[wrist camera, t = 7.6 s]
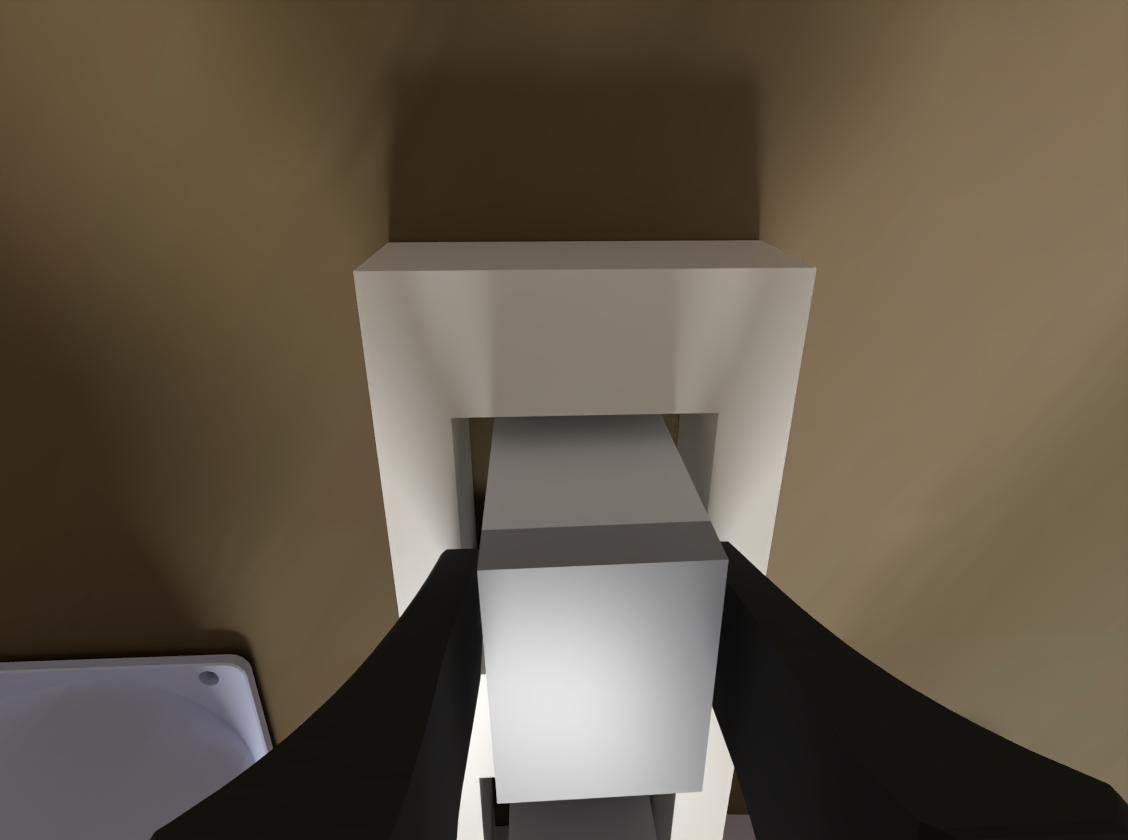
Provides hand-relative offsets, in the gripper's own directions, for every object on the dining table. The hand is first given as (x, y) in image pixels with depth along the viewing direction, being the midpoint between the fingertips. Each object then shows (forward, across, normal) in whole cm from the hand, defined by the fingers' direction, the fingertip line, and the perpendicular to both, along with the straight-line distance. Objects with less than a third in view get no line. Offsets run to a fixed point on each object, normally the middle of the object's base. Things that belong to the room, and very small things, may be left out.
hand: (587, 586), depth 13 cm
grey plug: (+4, 0, 0) cm, 4 cm away
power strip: (+4, 0, +5) cm, 6 cm away
